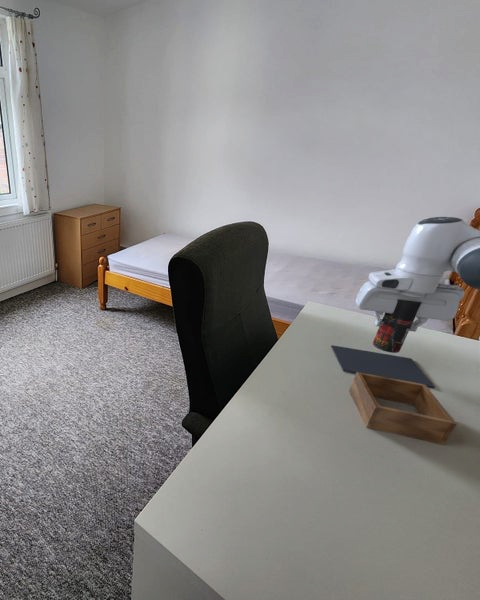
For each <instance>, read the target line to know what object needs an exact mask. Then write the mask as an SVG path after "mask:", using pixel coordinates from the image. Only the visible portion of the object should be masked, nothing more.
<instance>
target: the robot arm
mask: <svg viewBox="0 0 480 600" xmlns="http://www.w3.org/2000/svg"><path fill="white" fill-rule="evenodd" d="M446 272H455V273H457V275H458V276H459V277H460V279H461V281H462V282H463V283H464V284H465V285H466V286H468V287H470V288H472V289H474V290H477V291H480V230H479V229H477V228H475V227H473V226H471V225H469V224H468V223H466V222H465V221H464V219H462V218H460V217H455V216H454V217H453V216H435V217H429V218H424V219H422V220H420V221H418V222H417V223H416V224H415V226H414V227H413V228H412V230H411V232H410V234H409V235H408V237H407V239H406V241H405V244H404V246H403V249H402V256H401V259H400V260H399V261H398V263H397V264H396V266H395V268H392V269H386V270H377V271H372V272H370V273H369V275H368V280H369V281H366V282H364V283H363V285H361V287H360V289H359V291H358V293H357V295H356V297H355V300H354V303H355V305H356V307H357V308H358V309H359V310H362V311H367V312H368V311H370V312H372V313H373V315H374V317H375V319H374V323H373V325H374V327H378V328H379V327H383V324H384V323H385V322H384V321H383V318H381V316H384V314H385V313H391V314H392V313H393V312H394V310H395V307H396V304H397V302H398V301H397V299H399V300H407V301H415V302H422V303H421V305H420V307H419V309H418V311H417V314H416V316H415V318H417V319H416V320H414V321H413V323H412V325H411V328H410V330H409V332H417V330H418V328H419V327H421V326H422V325H423V324H425V323H427V321H428V320H429V319H430V320H437V321H438V320H439V321H444V322H450V321H451V320H453V319H455V317H456V315H457V312H458V310H459V305H460V302H461V300H463V298H464V296H465V289H463V288H462V287H461V286H460V285H457V284H448V283H447V284H446V283H441V280H442V278H443V276H444V273H446Z"/></svg>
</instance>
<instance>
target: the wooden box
mask: <svg viewBox="0 0 480 600" xmlns="http://www.w3.org/2000/svg"><path fill="white" fill-rule="evenodd" d="M349 393H350V396H351V397H352V399H353V400H352V401H353V403H354V404H355V406H356V409H357V411H358V413H359V415H360V416H361V419H362V421H363V423H364V426H365V428H368V429H373V430H376V431H381V432H385V433H389V434H393V435H398V436H403V437H407V438H411V439H417V440H420V441H424V442H429V443H434V444H438V445H442V446H445V445H446V443H447V441H448V440H449V438H450V436H451V435H452V433H453V431H454V429H455V428H456V427H457V425H458V424H457V423H456V421H455V420H454V418H453V417H452V416H451V414H450V413H449V412H448V411H447V410H446V408H445V407H444V406H443V404H442V403H441V402H440V401H439V399H438V398H437V397H436V396H435V394H434V393H433V392H432V391H431V390H430V388H429V387H427V386H426V385H425V384H420V383H414V382H409V381H403V380H398V379H393V378H387V377H382V376H376V375H371V374H365V373H360V372H357V373H356V374H354V378H353V380H352V383H351V385H350V388H349ZM376 399H379V400H380V399H381V400H386V401H391V402H395V403H400V404H405V405H410V406H413V408H414V410H415V411H416V412H411V411H406V410H402V409H397V408H392V407H389V406H388V407H387V406H383V405H379V403H378V401H377V400H376Z"/></svg>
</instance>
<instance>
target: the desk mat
mask: <svg viewBox="0 0 480 600" xmlns="http://www.w3.org/2000/svg"><path fill="white" fill-rule="evenodd" d="M330 348H331V349H332V351H333V353H334V356H335V358H336V359H337V361H338V364H339V366H340V368H341V370H342V371H343V372H345V373H349V374H354V375H356V373H357V372H360V373H365V374H371V375H376V376H382V377H387V378H393V379H398V380H403V381H409V382H414V383H420V384H425V385H426V386H427V387H428V388H429V389H430V388H431V389H435V388H436V386H435V385H434V383H432V381H431V380H430V379H429V378H428V376H427V375H426V374H425V373H424V372H423V370H422V369H421V368H420V367H419V366H418V364H417V363H416V362H415V361H414V359H413V358H412V357H405V356H399V355H394V354H387V353H382V352H375V351H369V350H363V349H357V348H352V347H345V346H339V345H334V344H332V345H331V346H330Z"/></svg>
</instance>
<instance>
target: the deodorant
mask: <svg viewBox="0 0 480 600" xmlns="http://www.w3.org/2000/svg"><path fill="white" fill-rule="evenodd" d="M397 301H398V302H397V304H396V307H395V310H394V312H393V313H392V314H391V313H383V315H382V316H383V317H382V319H383V321H384V322H385V323H384V324H383V327H379V326H378V329H377V331H376V334H375V336H374V338H373V341H372V345H373V346H374V347H375V349H378V350H380V351H383V352H386V353H392V354H394V353H395V354H397V353H400V351H401V350H402V348H403V345H404V343H405V340H406V338H407V337H408V334H409V332H410V331H409V330H410V328H411V325H412V323H413V322H414V321H415V318H416V317H415V316H416V314H417V311H418V309H419V307H420V305H421V303H422V302H415V301H407V300H399V299H397Z"/></svg>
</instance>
